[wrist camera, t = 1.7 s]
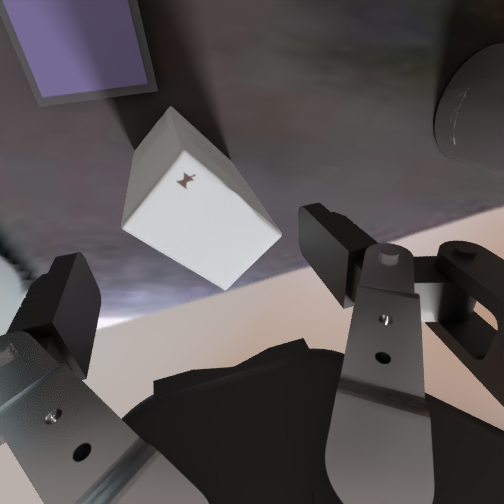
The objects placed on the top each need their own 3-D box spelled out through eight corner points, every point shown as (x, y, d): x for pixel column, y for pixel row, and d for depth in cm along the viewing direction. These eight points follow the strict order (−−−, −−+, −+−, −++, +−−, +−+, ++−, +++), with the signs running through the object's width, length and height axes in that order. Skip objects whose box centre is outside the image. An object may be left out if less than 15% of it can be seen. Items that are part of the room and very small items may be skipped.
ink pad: (124, -56, 17) (122, -64, 16) (158, 89, 21) (158, 91, 20) (-19, -47, 16) (-33, -55, 15) (44, 105, 20) (37, 108, 19)
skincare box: (132, 152, 22) (113, 227, 13) (170, 103, 21) (183, 143, 12) (198, 203, 26) (226, 294, 16) (234, 162, 25) (287, 233, 15)
